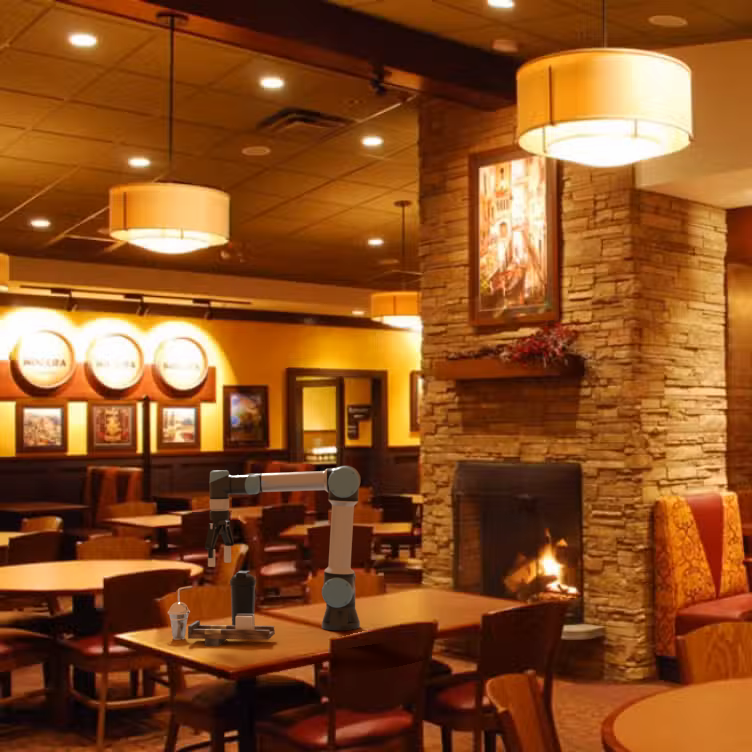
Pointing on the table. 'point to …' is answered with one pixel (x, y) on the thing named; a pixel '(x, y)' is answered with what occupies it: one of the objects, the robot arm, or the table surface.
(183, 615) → the cup with straw
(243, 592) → the water bottle
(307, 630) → the table surface
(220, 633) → the brown wooden tray
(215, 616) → the table surface
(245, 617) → the rider
